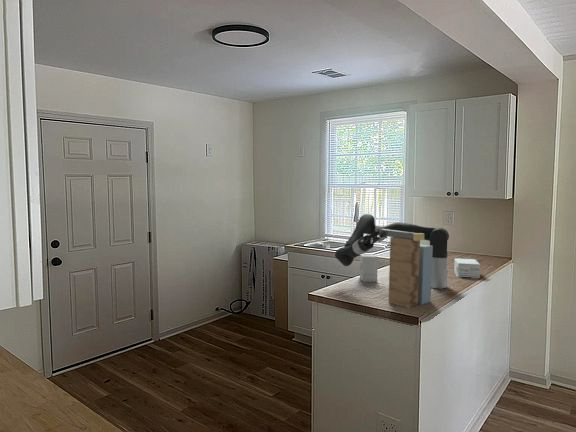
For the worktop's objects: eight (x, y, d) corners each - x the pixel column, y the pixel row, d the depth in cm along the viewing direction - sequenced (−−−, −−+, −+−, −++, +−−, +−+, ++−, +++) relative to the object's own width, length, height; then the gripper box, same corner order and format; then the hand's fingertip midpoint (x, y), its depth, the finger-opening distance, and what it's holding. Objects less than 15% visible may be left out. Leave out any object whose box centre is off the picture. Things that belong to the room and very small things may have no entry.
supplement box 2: (453, 272, 287) (454, 258, 286) (474, 273, 284) (475, 259, 283) (457, 277, 270) (458, 262, 270) (480, 278, 267) (480, 263, 267)
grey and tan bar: (385, 234, 221) (385, 228, 221) (424, 239, 202) (424, 233, 202) (377, 235, 218) (377, 229, 218) (416, 240, 199) (416, 234, 199)
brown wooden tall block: (397, 299, 217) (399, 236, 214) (417, 305, 207) (420, 239, 205) (388, 302, 213) (390, 237, 210) (408, 307, 203) (410, 240, 201)
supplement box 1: (374, 278, 265) (374, 254, 264) (377, 281, 256) (378, 256, 255) (359, 278, 264) (359, 254, 263) (362, 281, 255) (362, 256, 254)
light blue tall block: (410, 296, 223) (412, 242, 221) (430, 302, 213) (432, 245, 211) (401, 298, 219) (403, 243, 216) (421, 304, 209) (423, 247, 207)
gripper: (374, 250, 232) (395, 238, 220) (355, 252, 224) (376, 240, 212) (369, 237, 235) (390, 224, 223) (350, 239, 227) (370, 226, 215)
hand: (383, 232), depth 218 cm, fingers open, 8 cm apart
